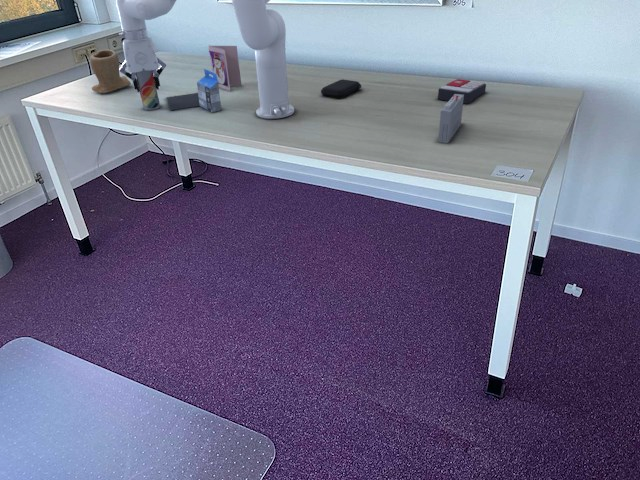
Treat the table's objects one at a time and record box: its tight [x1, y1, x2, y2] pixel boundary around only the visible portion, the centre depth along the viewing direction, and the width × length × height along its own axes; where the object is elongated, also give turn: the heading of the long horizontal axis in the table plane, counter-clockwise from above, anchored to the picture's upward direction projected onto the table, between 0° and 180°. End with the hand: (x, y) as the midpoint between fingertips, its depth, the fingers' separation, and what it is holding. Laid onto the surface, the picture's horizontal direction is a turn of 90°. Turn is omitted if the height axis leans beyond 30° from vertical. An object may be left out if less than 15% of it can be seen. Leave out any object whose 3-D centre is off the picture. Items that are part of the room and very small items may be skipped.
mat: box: [166, 92, 202, 112], centre depth 188 cm, size 16×14×1 cm
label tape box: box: [196, 68, 222, 113], centre depth 176 cm, size 9×4×12 cm, turn 40°
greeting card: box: [207, 45, 243, 92], centre depth 198 cm, size 11×7×15 cm, turn 42°
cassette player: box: [437, 94, 464, 144], centre depth 148 cm, size 16×3×10 cm, turn 154°
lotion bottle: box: [136, 68, 161, 111], centre depth 179 cm, size 6×6×20 cm
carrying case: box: [320, 78, 362, 99], centre depth 188 cm, size 11×3×15 cm
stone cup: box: [89, 49, 131, 94], centre depth 202 cm, size 15×12×15 cm
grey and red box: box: [437, 78, 487, 105], centre depth 178 cm, size 11×4×15 cm
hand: (147, 89), depth 180 cm, fingers open, 5 cm apart
